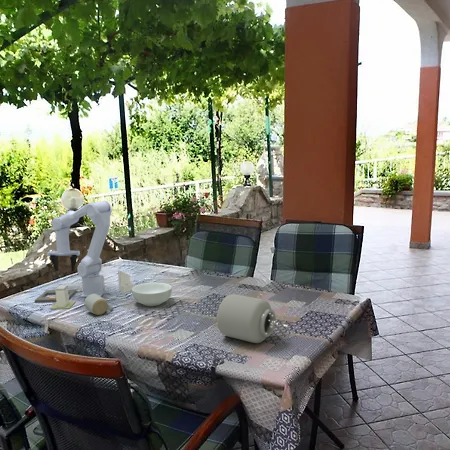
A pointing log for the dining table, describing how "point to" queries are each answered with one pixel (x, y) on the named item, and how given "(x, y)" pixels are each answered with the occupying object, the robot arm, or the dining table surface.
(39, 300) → the grey square frame
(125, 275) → the white wedge bracket
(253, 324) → the jar
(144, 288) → the cereal bowl
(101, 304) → the ceramic mug
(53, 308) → the rubber mat
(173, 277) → the dining table surface
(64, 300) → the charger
